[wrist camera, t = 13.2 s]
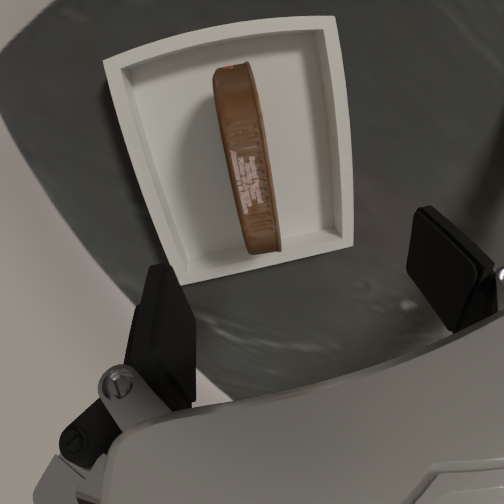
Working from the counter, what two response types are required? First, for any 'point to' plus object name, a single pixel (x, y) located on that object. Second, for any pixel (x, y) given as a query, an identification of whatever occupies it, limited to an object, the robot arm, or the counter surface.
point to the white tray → (211, 147)
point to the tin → (247, 156)
